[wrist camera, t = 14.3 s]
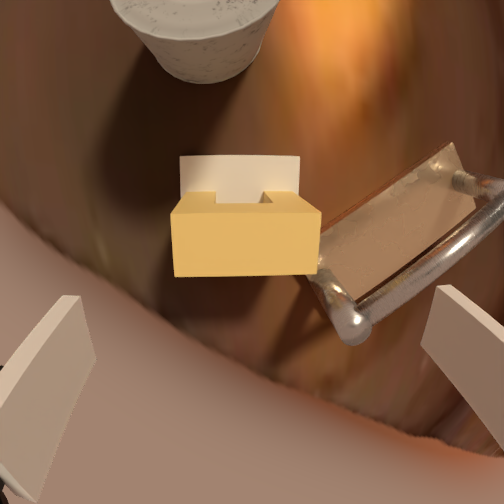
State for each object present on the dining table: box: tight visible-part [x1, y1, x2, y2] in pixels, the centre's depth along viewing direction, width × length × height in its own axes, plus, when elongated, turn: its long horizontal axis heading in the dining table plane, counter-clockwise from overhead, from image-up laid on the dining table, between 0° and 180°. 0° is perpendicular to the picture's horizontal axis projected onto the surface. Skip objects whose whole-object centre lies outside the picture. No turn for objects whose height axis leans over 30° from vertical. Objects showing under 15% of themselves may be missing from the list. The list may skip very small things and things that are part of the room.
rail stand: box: [305, 142, 504, 346], centre depth 25 cm, size 20×8×10 cm, turn 124°
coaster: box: [180, 155, 300, 203], centre depth 28 cm, size 10×10×1 cm
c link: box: [171, 191, 321, 277], centre depth 24 cm, size 9×4×8 cm, turn 89°
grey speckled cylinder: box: [110, 0, 280, 84], centre depth 17 cm, size 10×10×12 cm
